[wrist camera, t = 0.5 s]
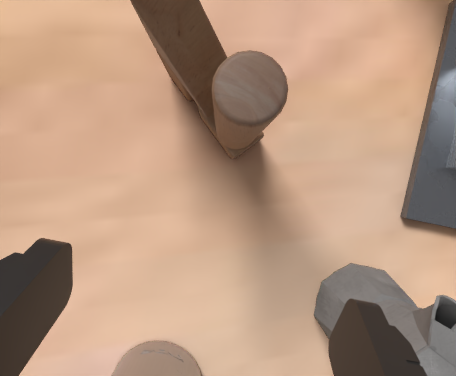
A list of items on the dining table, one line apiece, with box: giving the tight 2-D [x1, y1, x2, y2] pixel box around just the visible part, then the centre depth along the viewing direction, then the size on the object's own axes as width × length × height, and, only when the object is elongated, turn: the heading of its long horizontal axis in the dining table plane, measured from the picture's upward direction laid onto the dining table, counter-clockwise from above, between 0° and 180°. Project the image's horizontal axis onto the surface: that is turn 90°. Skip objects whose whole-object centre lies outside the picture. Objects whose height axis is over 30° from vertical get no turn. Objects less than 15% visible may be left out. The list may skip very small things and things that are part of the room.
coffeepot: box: [314, 263, 456, 376], centre depth 25 cm, size 15×9×18 cm, turn 10°
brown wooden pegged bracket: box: [131, 0, 288, 159], centre depth 24 cm, size 4×11×18 cm, turn 37°
